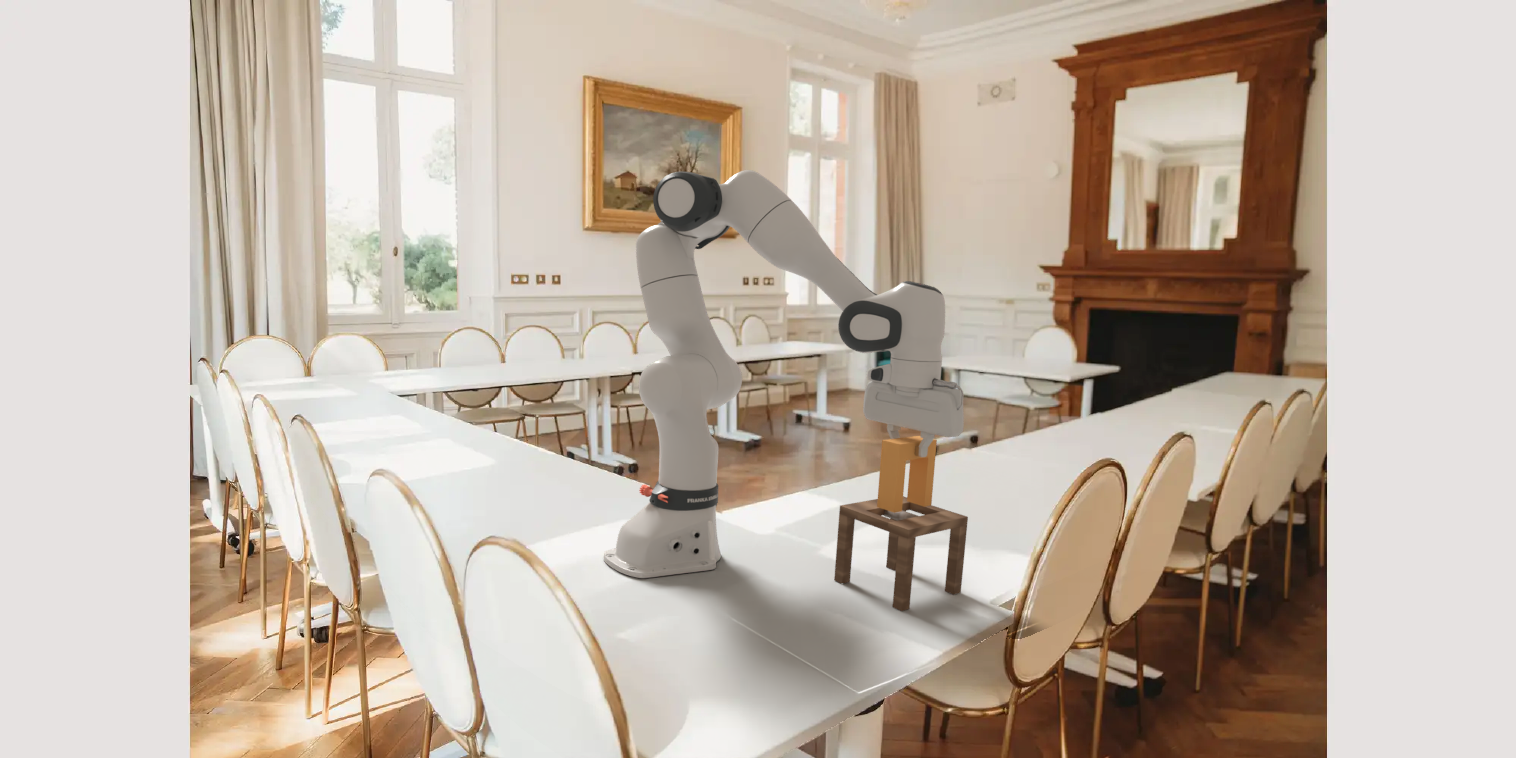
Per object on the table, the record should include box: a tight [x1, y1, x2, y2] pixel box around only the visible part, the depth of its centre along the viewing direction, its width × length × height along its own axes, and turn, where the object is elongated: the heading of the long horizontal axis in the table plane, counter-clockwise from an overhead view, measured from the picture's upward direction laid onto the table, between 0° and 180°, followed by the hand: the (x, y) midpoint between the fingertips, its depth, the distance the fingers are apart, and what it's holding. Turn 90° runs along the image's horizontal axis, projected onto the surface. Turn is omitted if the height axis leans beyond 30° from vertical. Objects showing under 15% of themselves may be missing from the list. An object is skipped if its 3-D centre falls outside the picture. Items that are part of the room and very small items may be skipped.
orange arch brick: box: [877, 435, 938, 513], centre depth 146 cm, size 10×4×12 cm, turn 129°
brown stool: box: [833, 495, 969, 612], centre depth 147 cm, size 16×16×14 cm
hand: (908, 453), depth 145 cm, fingers closed on orange arch brick, 4 cm apart
